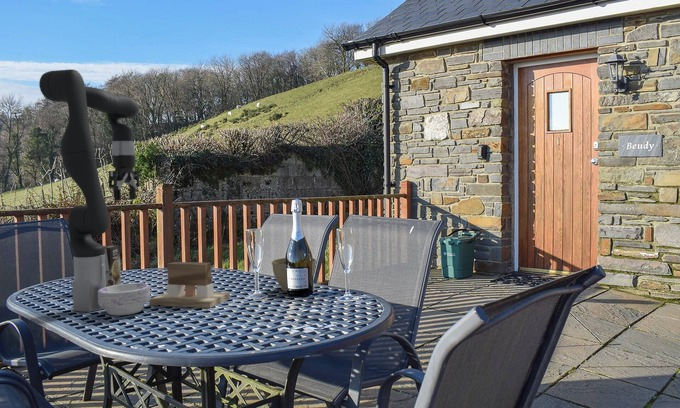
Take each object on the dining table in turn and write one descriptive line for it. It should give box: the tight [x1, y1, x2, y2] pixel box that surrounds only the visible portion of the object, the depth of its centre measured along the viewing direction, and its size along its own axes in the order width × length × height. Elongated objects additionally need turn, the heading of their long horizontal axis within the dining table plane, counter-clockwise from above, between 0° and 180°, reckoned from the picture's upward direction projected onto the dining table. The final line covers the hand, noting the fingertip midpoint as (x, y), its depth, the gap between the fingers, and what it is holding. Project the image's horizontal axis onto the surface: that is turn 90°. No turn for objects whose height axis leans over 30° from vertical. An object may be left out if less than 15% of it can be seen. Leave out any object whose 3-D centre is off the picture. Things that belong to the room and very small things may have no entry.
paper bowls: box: [98, 282, 151, 316], centre depth 174 cm, size 15×15×8 cm
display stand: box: [148, 283, 231, 309], centre depth 187 cm, size 14×22×6 cm, turn 75°
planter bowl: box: [271, 257, 317, 292], centre depth 203 cm, size 16×16×11 cm
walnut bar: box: [166, 261, 213, 287], centre depth 186 cm, size 4×14×7 cm, turn 75°
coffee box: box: [103, 244, 122, 287], centre depth 211 cm, size 9×6×16 cm
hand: (125, 199), depth 199 cm, fingers open, 8 cm apart
